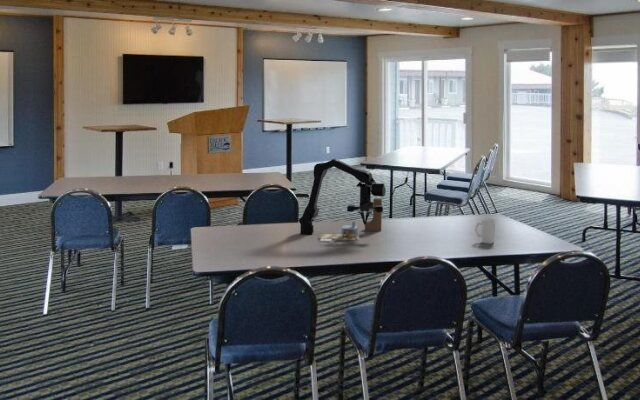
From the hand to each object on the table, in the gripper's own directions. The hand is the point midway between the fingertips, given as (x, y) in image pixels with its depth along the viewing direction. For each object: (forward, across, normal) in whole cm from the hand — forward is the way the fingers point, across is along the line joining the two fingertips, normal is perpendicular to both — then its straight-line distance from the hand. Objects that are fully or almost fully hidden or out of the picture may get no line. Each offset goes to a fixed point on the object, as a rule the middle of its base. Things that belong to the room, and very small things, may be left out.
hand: (364, 224), depth 383 cm
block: (+8, -8, 0) cm, 11 cm away
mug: (+7, +62, -3) cm, 63 cm away
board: (+7, -13, 0) cm, 15 cm away
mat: (+7, -20, -8) cm, 23 cm away
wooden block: (+8, +4, +23) cm, 25 cm away
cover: (+6, -8, 0) cm, 10 cm away
